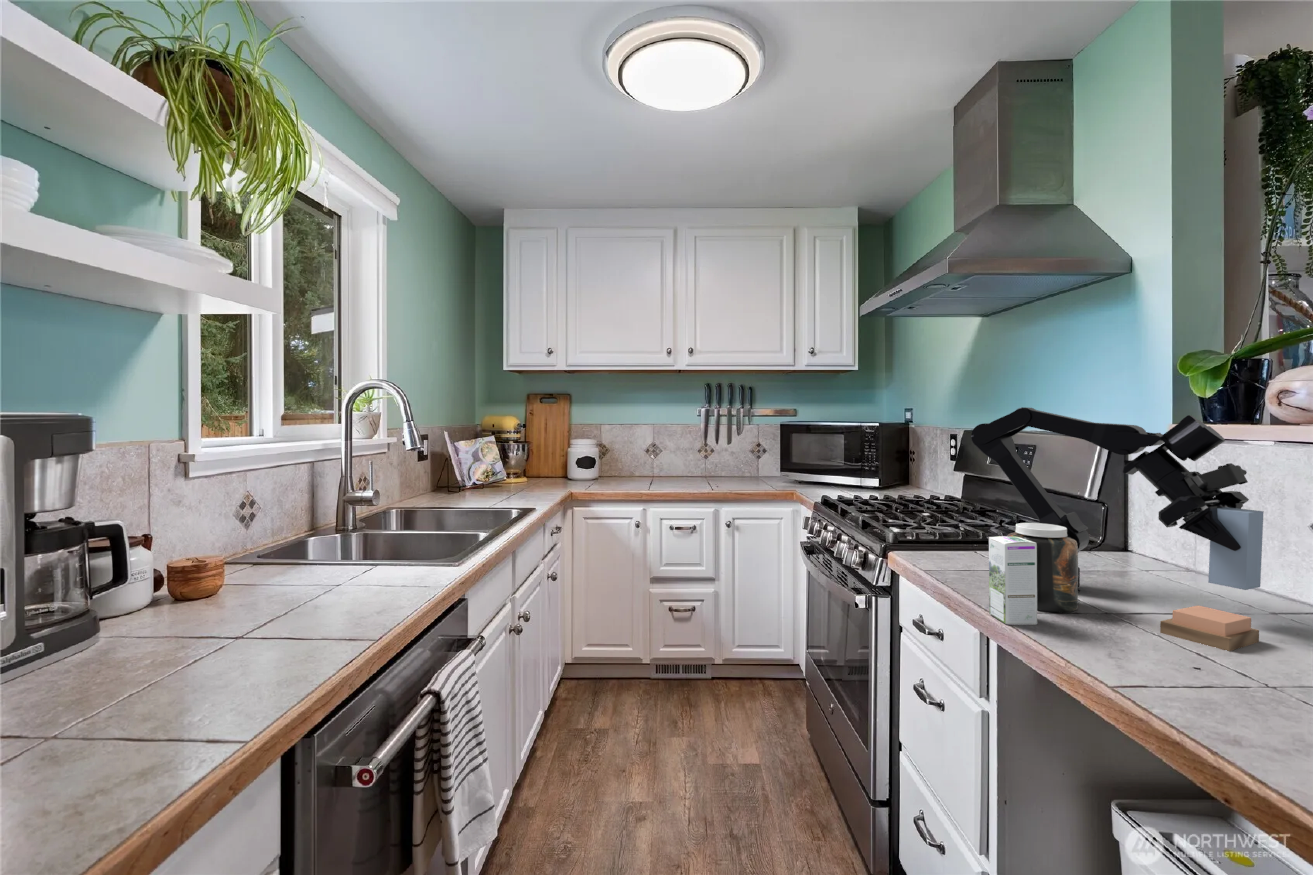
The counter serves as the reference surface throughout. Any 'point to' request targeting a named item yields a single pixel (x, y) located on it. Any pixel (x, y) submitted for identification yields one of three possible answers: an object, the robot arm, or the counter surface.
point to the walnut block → (1209, 636)
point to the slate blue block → (1245, 562)
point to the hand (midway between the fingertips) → (1246, 547)
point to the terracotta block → (1212, 620)
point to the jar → (1053, 565)
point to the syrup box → (1013, 580)
